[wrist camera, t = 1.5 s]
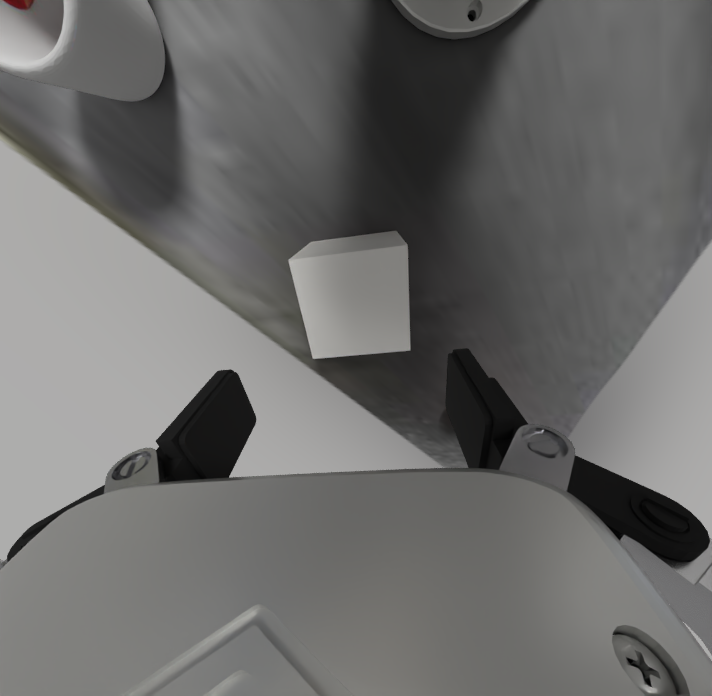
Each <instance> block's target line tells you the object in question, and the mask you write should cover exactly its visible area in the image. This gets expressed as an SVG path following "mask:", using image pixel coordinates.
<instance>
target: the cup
mask: <svg viewBox="0 0 712 696" xmlns="http://www.w3.org/2000/svg"><path fill="white" fill-rule="evenodd" d="M164 69H165V51H164V44H163V39H162V35H161V32H160V28H159V25H158V22H157V20H156V17H155V15H154V13H153V11H152V9H151V7H150V5H149V3H148V1H147V0H0V70H2V71H4V72H7V73H9V74H12V75H15V76H18V77H21V78H24V79H29V80H33V81H37V82H42V83H46V84H50V85H54V86H59V87H63V88H67V89H72V90H76V91H80V92H85V93H89V94H93V95H97V96H102V97H106V98H110V99H115V100H120V101H140V100H143V99H146V98H148V97H150V96H151V95H152V94H153V93H154V92H155V91H156V90H157V89H158V87H159V85H160V83H161V81H162V78H163V75H164Z"/></svg>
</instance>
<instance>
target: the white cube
mask: <svg viewBox="0 0 712 696" xmlns="http://www.w3.org/2000/svg"><path fill="white" fill-rule="evenodd" d="M288 261H289V265H290V269H291V273H292V277H293V281H294V285H295V289H296V293H297V297H298V301H299V305H300V309H301V313H302V317H303V321H304V325H305V329H306V333H307V337H308V341H309V345H310V349H311V353H312V357H313V359H319V358H330V357H342V356H353V355H365V354H376V353H388V352H399V351H410V314H409V275H408V245H407V243H406V242H405V241H404V240H403V239H402V237H401V236H400V235H399V234H398V232H397V231H389V232H382V233H374V234H367V235H359V236H352V237H344V238H337V239H329V240H321V241H314V242H310V243H309V244H308V245H307V246H305V247H304V248H303V249H302V250H300V251H299V252H298V253H297V254H295V255H294V256H293V257H292V258H290V259H289V260H288Z"/></svg>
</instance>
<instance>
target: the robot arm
mask: <svg viewBox="0 0 712 696" xmlns="http://www.w3.org/2000/svg"><path fill="white" fill-rule="evenodd" d="M391 1H392V2H393V4H394V5H395V6H396V8H397V9H398V10H399V11H400V13H401V14H402V15H403V16H404V17H405V18H406V19H407V20H409V21H410V22H411V23H412V24H413V25H415V26H416V27H417V28H418V29H420V30H422V31H424V32H427V33H429V34H431V35H433V36H435V37H441V38H448V39H461V38H469V37H474V36H477V35H479V34H482V33H485V32H487V31H490V30H492V29H494V28H495V27H497V26H499V25H500V24H502V23H503V22H505V21H506V20H508V19H509V18H511V17H512V16H513V15H514V14H516V13H517V12H518V11H519V10H520V9H521V8H522V7H523V6H524V5H525V4H526V3H527V2H528V1H529V0H391ZM469 14H472V15H473V18H474V20H473V22H472V21H470V20H469V19H468V16H467V15H469ZM446 409H447V412H448V415H449V418H450V420H451V423H452V426H453V428H454V431H455V433H456V436H457V439H458V441H459V444H460V446H461V449H462V452H463V454H464V457H465V459H466V462H467V465H468V467H469V468H434V469H401V470H400V469H399V470H378V471H355V472H331V473H312V474H291V475H273V476H272V475H271V476H252V477H233V478H229V475H230V474H231V472H232V470H233V468H234V466H235V464H236V462H237V460H238V457H239V456H240V454H241V452H242V450H243V448H244V446H245V444H246V442H247V439H248V438H249V435H250V434H251V432H252V429H253V428H254V426H255V423H256V416H255V413H254V411H253V408H252V406H251V404H250V401H249V399H248V397H247V394H246V392H245V390H244V387H243V385H242V383H241V380H240V378H239V375H238V374H237V373H236V372H234V371H233V370H221V371H217V372H216V373H215V374H214V376H213V377H212V378H211V379H210V380H209V381H208V382H207V383H206V385H205V386H204V387H203V388H202V389H201V390H200V391H199V393H198V394H197V395H196V396H195V397H194V398H193V399H192V400H191V402H190V403H189V404H188V405H187V406H186V407H185V408H184V410H183V411H182V412H181V413H180V414H179V415H178V416H177V418H176V419H175V420H174V421H173V422H172V423H171V424H170V426H169V427H168V428H167V429H166V430H165V431H164V432H163V433H162V435H161V436H160V437H159V438H158V439H157V440H156V442H157V444H158V445H159V448H158V449H157V450H155V449H153V448H143V449H139V450H137V451H135V452H132V453H130V454H128V455H127V456H125V457H124V458H122V459H121V460H120V461H118V462H117V463H116V464H115V465H114V466H113V467H112V468H111V469H110V471H109V472H108V474H107V476H106V481H105V485H104V486H102V487H100V488H98V489H96V490H95V491H93V492H91V493H89V494H87V495H86V496H84V497H82V498H80V499H79V500H77V501H75V502H73V503H71V504H70V505H68V506H66V507H64V508H62V509H61V510H59V511H57V512H55V513H54V514H52V515H50V516H48V517H46V518H45V519H43V520H41V521H39V522H37V523H36V524H34V525H33V526H31V527H30V528H29V529H28V530H27V531H26V532H25V533H23V535H22V536H21V537H20V538H19V539H18V540H17V541H16V543H15V544H14V545H13V546H12V548H11V549H10V551H9V553H8V555H7V559H6V560H5V561H3V560H1V559H0V696H712V661H711V659H710V658H709V657H708V655H707V654H706V653H705V651H704V650H703V649H702V647H701V646H700V644H699V643H698V642H697V641H696V639H695V638H694V636H693V635H692V634H691V632H690V631H689V629H688V628H687V627H686V626H685V624H684V623H686V624H687V625H688V626H689V627H690V628H691V629H692V630H693V631H694V632H695V633H696V634H697V635H698V636H699V637H700V639H701V640H702V641H703V642H704V644H705V646H706V647H707V648H708V650H709V651H710V653H711V654H712V539H711V538H709V536H708V532H707V530H706V529H705V527H704V526H703V525H702V523H701V522H700V521H699V520H698V519H697V518H696V517H695V516H694V515H693V514H692V513H691V512H690V511H688V510H687V509H686V508H684V507H683V506H682V505H680V504H679V503H677V502H675V501H674V500H672V499H670V498H668V497H666V496H664V495H662V494H660V493H657V492H655V491H653V490H651V489H649V488H646V487H644V486H642V485H640V484H638V483H635V482H633V481H631V480H629V479H627V478H624V477H622V476H620V475H618V474H615V473H613V472H611V471H609V470H607V469H604V468H602V467H600V466H598V465H595V464H593V463H591V462H589V461H586V460H584V459H582V458H580V457H578V456H575V448H574V446H573V444H572V442H571V441H570V440H569V439H568V438H567V437H566V436H565V435H563V434H562V433H560V432H559V431H557V430H555V429H553V428H550V427H548V426H544V425H540V424H528V423H527V422H526V420H525V419H524V418H523V416H522V415H521V413H520V412H519V411H518V409H517V408H516V407H515V405H514V404H513V402H512V401H511V400H510V398H509V397H508V396H507V394H506V393H505V391H504V390H503V389H502V387H501V386H500V385H499V383H498V382H497V381H496V379H495V378H488V376H487V375H486V373H485V372H484V370H483V369H482V368H481V366H480V365H479V363H478V362H477V360H476V359H475V357H474V356H473V355H472V353H471V352H470V350H469V349H455V350H453V352H452V353H449V354H448V366H447V385H446ZM682 621H683V622H684V623H683V622H682ZM612 635H614V636H612Z"/></svg>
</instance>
